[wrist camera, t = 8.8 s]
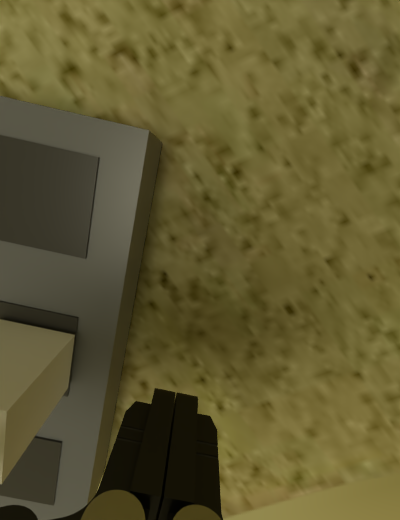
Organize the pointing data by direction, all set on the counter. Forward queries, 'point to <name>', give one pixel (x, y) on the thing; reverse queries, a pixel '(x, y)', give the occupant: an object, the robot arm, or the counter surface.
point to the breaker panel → (72, 279)
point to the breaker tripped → (29, 384)
